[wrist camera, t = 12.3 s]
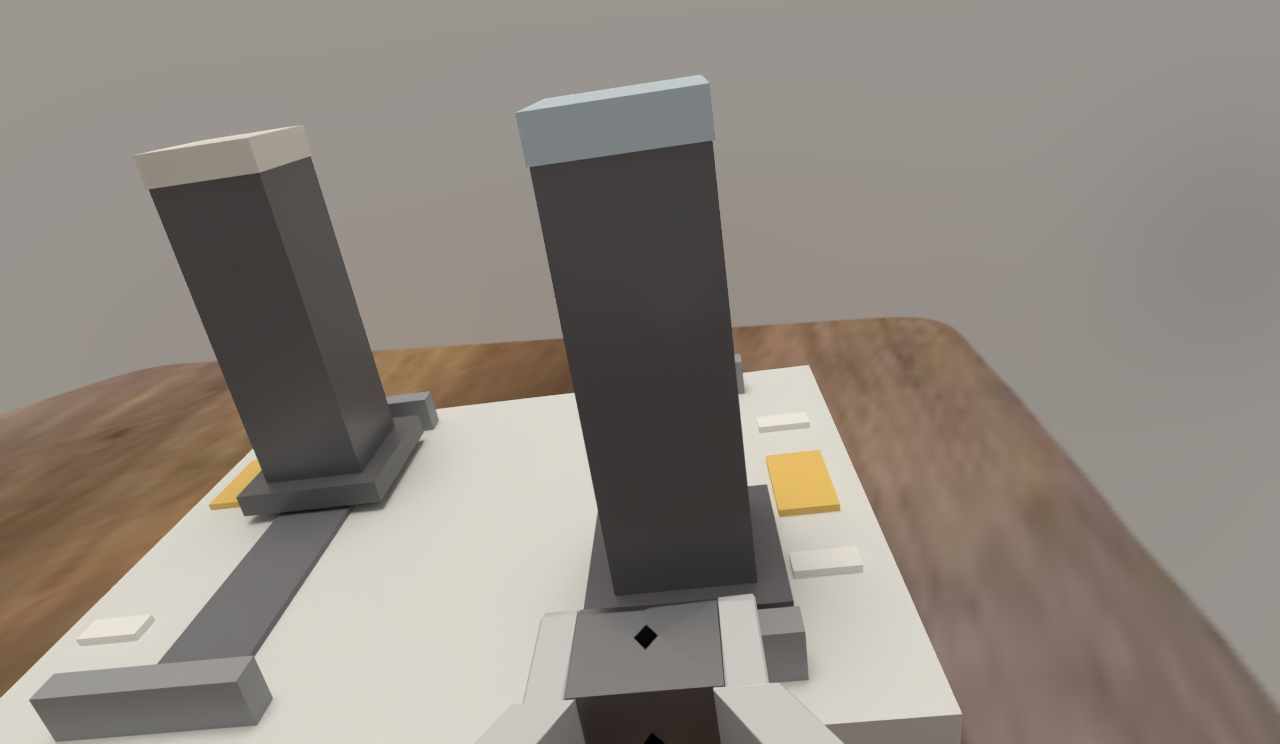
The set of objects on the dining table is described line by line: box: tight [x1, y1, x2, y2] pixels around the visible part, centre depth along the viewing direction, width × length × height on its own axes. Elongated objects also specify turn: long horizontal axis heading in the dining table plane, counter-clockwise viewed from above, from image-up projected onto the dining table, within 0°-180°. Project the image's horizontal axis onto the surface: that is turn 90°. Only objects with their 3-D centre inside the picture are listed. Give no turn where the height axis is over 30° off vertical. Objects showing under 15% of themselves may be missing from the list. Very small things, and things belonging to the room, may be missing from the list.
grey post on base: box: [133, 125, 424, 516], centre depth 26 cm, size 5×5×12 cm
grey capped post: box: [516, 75, 794, 610], centre depth 18 cm, size 5×5×12 cm
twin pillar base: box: [0, 354, 962, 744], centre depth 24 cm, size 24×18×2 cm
